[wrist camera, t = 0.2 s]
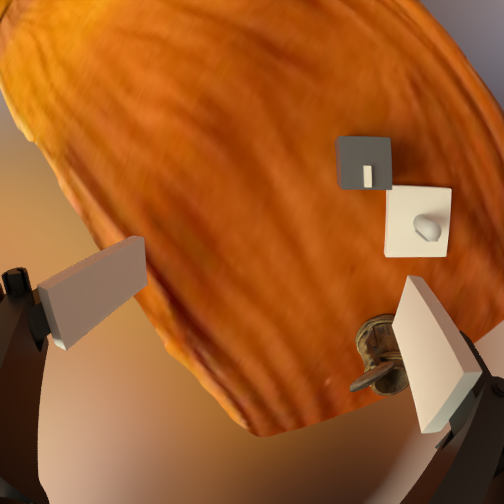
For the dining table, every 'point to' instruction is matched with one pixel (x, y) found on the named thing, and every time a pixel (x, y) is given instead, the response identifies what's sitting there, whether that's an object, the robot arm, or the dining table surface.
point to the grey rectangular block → (364, 162)
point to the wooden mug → (380, 358)
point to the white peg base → (417, 221)
